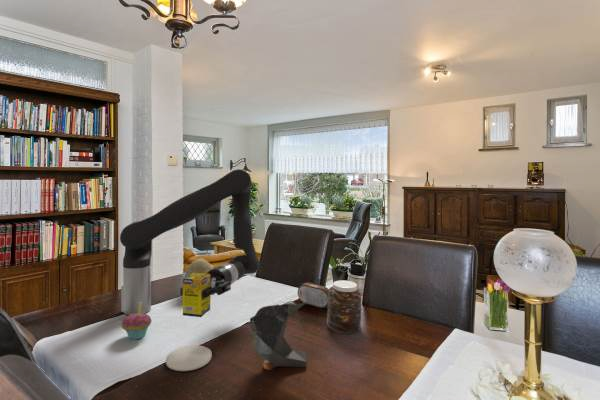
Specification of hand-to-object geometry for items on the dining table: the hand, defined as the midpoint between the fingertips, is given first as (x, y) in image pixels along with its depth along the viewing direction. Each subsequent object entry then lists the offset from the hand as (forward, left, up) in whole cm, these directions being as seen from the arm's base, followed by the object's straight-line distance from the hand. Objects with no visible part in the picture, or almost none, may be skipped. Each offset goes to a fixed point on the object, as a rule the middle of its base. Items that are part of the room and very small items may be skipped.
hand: (192, 293), depth 97 cm
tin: (+22, +49, -18) cm, 57 cm away
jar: (+37, +34, -18) cm, 54 cm away
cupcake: (-23, +3, -18) cm, 29 cm away
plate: (+1, -3, -18) cm, 18 cm away
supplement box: (0, +2, -7) cm, 7 cm away
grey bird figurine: (+25, +4, -18) cm, 31 cm away
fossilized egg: (-28, +44, -18) cm, 55 cm away
